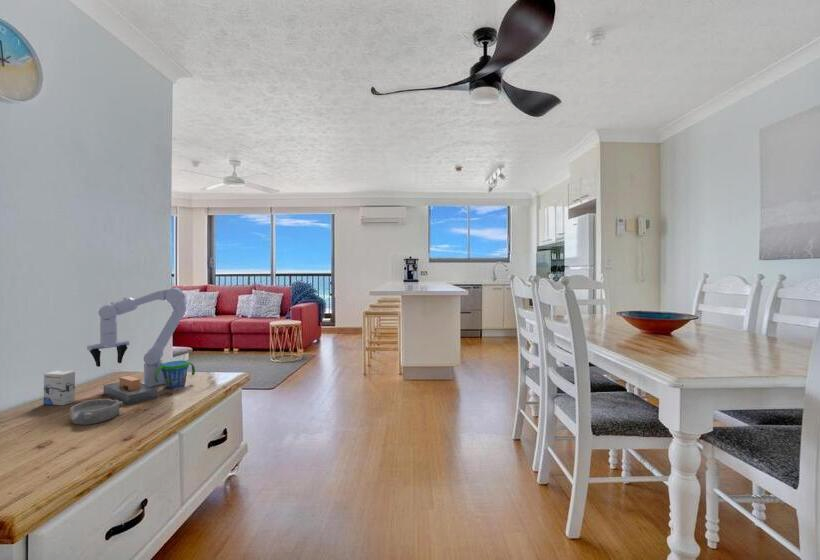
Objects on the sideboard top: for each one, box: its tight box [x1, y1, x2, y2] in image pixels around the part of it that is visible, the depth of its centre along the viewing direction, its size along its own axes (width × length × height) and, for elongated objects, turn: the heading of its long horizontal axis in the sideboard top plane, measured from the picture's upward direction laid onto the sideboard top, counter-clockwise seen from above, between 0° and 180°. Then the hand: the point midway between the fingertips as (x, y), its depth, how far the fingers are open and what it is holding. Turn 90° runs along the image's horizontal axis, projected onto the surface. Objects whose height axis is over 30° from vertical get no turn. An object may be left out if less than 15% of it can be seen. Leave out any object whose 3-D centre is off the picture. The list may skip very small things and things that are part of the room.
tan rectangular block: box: [118, 375, 141, 391], centre depth 160 cm, size 3×10×7 cm, turn 59°
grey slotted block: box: [103, 381, 158, 405], centre depth 160 cm, size 10×24×4 cm, turn 56°
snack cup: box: [154, 360, 196, 389], centre depth 173 cm, size 16×10×10 cm
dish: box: [69, 398, 124, 426], centre depth 136 cm, size 14×14×5 cm
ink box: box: [43, 370, 76, 406], centre depth 151 cm, size 9×5×12 cm, turn 84°
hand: (109, 364), depth 169 cm, fingers open, 7 cm apart
